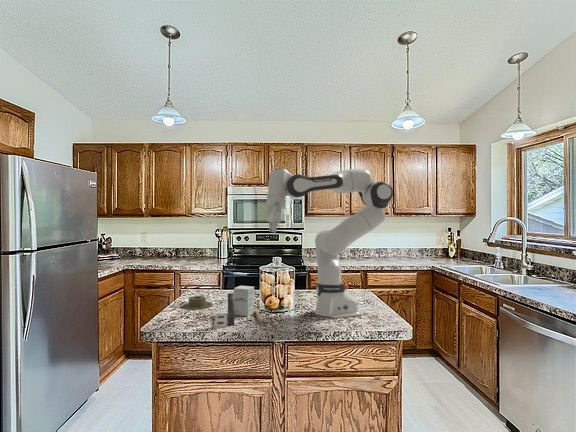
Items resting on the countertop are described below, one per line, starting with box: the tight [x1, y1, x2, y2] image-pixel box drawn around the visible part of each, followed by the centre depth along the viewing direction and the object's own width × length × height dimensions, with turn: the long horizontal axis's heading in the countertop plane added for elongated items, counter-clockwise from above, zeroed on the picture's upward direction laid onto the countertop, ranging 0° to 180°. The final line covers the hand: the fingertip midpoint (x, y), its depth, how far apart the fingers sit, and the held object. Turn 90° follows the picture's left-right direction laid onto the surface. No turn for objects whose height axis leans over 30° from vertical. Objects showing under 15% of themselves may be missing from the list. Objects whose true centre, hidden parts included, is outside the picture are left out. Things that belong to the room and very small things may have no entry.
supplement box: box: [233, 285, 255, 317], centre depth 168 cm, size 7×7×13 cm
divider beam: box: [227, 292, 262, 327], centre depth 161 cm, size 14×21×13 cm, turn 9°
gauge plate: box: [213, 314, 228, 329], centre depth 155 cm, size 5×16×1 cm, turn 9°
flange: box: [181, 295, 213, 311], centre depth 183 cm, size 5×15×15 cm
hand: (272, 232), depth 167 cm, fingers open, 8 cm apart
